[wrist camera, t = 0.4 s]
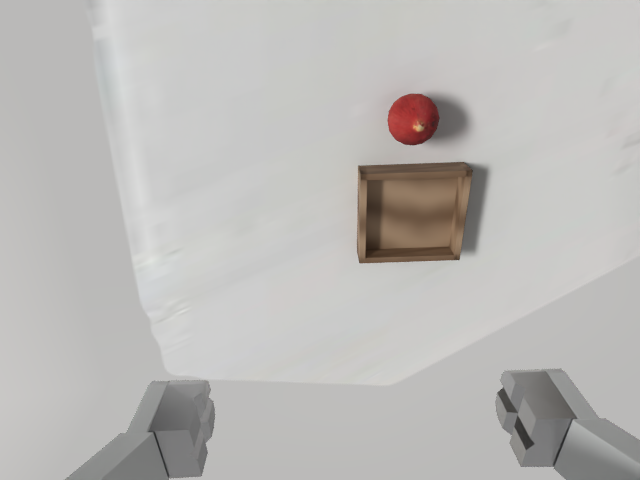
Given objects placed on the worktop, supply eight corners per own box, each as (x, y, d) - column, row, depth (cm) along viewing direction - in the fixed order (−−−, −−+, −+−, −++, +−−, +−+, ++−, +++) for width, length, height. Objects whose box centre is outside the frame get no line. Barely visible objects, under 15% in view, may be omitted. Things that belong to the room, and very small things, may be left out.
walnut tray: (358, 165, 54) (360, 174, 51) (463, 162, 54) (472, 170, 51) (357, 251, 60) (359, 263, 57) (451, 247, 60) (459, 259, 57)
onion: (434, 91, 50) (454, 102, 43) (424, 138, 52) (442, 156, 45) (387, 87, 49) (399, 97, 42) (380, 134, 52) (390, 152, 45)
